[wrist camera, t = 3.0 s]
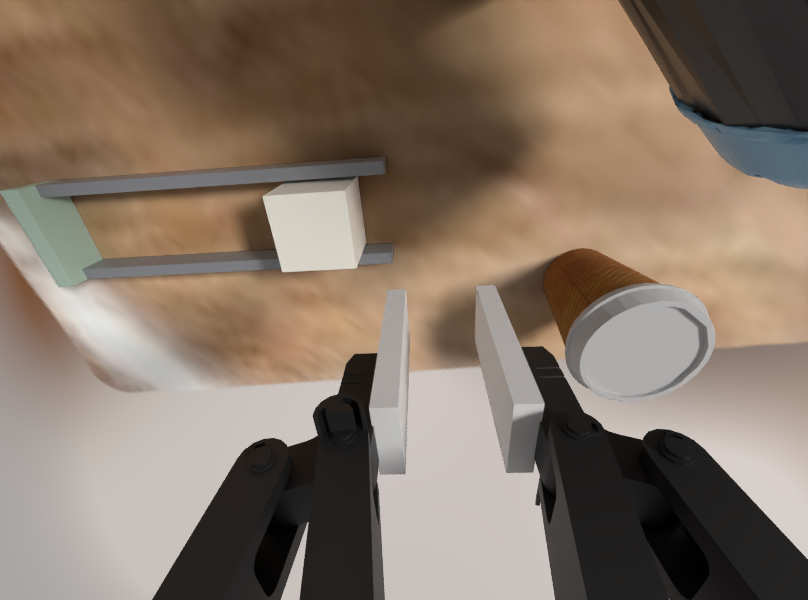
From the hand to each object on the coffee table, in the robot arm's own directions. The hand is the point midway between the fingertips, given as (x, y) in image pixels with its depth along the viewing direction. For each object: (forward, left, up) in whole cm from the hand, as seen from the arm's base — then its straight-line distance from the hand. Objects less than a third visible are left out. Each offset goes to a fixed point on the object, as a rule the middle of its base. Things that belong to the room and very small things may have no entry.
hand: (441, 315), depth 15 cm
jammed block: (0, -9, -19) cm, 21 cm away
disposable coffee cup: (+8, +14, -19) cm, 25 cm away
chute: (0, -18, -19) cm, 26 cm away
